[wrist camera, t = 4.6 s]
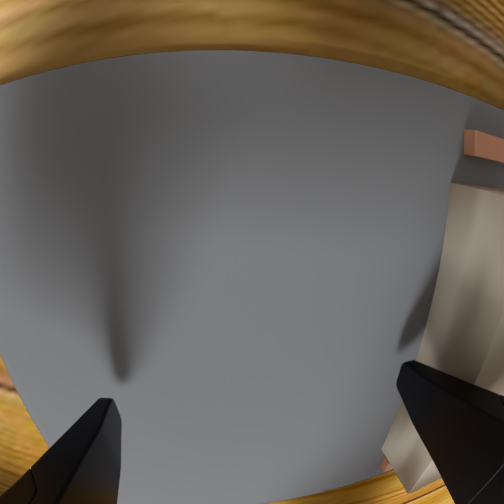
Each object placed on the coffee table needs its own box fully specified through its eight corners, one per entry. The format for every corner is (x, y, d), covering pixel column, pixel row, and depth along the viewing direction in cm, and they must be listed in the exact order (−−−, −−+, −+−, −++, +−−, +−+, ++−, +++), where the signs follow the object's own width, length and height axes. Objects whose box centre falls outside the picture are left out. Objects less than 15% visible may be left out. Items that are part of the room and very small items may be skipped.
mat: (510, 403, 15) (517, 410, 14) (92, 497, 11) (90, 510, 10) (580, 155, 10) (590, 157, 9) (-35, 102, 5) (-52, 101, 4)
